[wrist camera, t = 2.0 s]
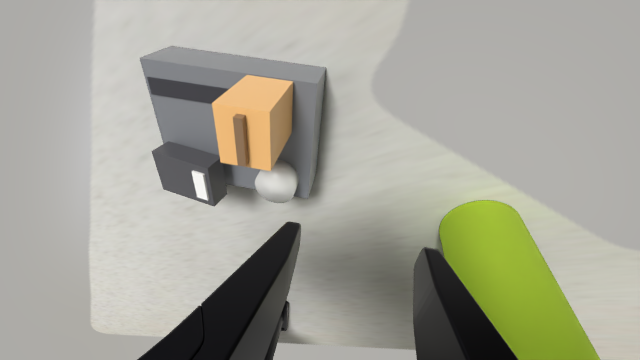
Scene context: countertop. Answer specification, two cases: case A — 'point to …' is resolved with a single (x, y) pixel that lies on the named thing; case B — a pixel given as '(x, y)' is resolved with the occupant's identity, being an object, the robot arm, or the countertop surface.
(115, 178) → the countertop surface
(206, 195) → the block
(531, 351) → the soap dispenser
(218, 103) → the orange slider
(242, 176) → the panel
